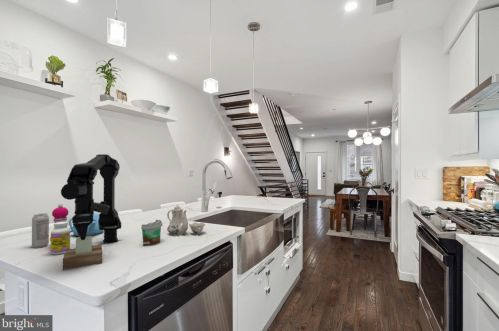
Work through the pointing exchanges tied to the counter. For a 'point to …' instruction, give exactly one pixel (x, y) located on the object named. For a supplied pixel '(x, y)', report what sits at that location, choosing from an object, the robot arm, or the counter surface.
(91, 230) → the teapot
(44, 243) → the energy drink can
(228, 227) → the counter surface
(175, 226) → the chinaware
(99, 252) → the walnut block
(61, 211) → the pepper mill
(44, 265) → the counter surface
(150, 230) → the food container
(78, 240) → the sage cube
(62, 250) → the supplement bottle
